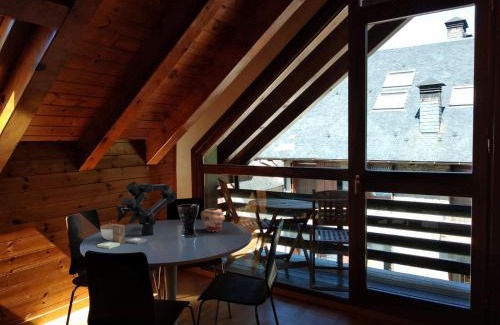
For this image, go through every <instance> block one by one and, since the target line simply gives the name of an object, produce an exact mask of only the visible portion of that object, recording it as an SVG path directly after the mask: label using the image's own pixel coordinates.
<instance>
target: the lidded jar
mask: <svg viewBox="0 0 500 325" xmlns="http://www.w3.org/2000/svg"><path fill="white" fill-rule="evenodd" d="M117 224H118V223H111V222H109V223H107V224H103V225H100V227H99V228H100V234H101V236H102V237H103V238H104V240H105V239H106V240H105V241H113V225H117Z"/></svg>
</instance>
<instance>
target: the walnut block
mask: <svg viewBox="0 0 500 325" xmlns="http://www.w3.org/2000/svg"><path fill="white" fill-rule="evenodd" d="M116 224H117V225H113V240H112V242H115V243H120V245H122V244H125V243H126V239H125V238H126V237H125V236H126V233H125V228H126V227H125V224H119V223H116Z"/></svg>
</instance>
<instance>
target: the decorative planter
mask: <svg viewBox="0 0 500 325" xmlns="http://www.w3.org/2000/svg"><path fill="white" fill-rule="evenodd" d="M200 218H201V220H202V223H203V224H204V228H205V230H206V231H207V232H211V231H212V233H213V232H214V231H216V232H220V231H222V229H223V222H224V221H225V220H226V217H225V215H224V213H223V210H222V209H221V208H220V209H219V208H216V207H213V208H207V209H206V208H205V209H204V210H203V211H201V212H200ZM214 233H215V232H214Z"/></svg>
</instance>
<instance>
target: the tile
mask: <svg viewBox="0 0 500 325" xmlns="http://www.w3.org/2000/svg"><path fill="white" fill-rule="evenodd" d="M145 242H148V239H147V238H142V237H131V238H129V239H125V243H127V244H136V245H139V244H143V243H145Z"/></svg>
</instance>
